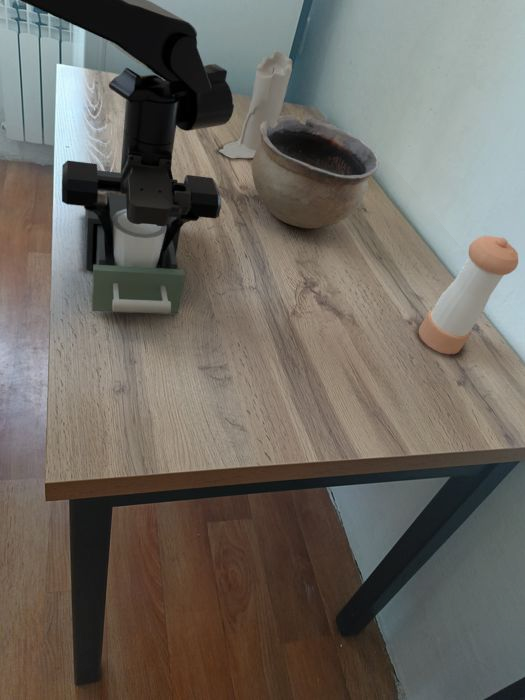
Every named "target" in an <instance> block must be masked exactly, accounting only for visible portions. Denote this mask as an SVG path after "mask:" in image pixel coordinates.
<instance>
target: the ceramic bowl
mask: <svg viewBox="0 0 525 700" xmlns="http://www.w3.org/2000/svg"><path fill="white" fill-rule="evenodd" d="M260 132H261V142H260V143H259V145H258V147H257V150H256V152H255V155H254V158H252V164H251V165H252V166H251V175H252V179H253V183H254V188H255V190H256V192H257V194H258V197H259V199H260V200H261V202H262V204H263V205H264V206H265V208H266V209H267V210H268V211H269V212H270V213H271V214H272V215H273V216H274V217H275V218H276V219H278V220H280V221H281V222H283V223H285V224H288V225H290V226H294V227H297V228H301V229H321V228H325V227H328V226H331V225H335V224H339V223H340V222H342V221H344V220H345V219H347V218H348V217H349V216H351V215H352V214H353V213H355V212H356V211H357V209H358V208H359V207H360V205H361V203H362V201H363V200H364V197H365V195H366V192H367V189H368V185H369V179H370V178H371V177H372V176H373V175H374V174H376V172H377V171H378V170H379V167H380V160H379V158H378V156H377V153H376V152H375V151H373V150H372V148H370V147H368V145H367V144H366V143H365V142H364V141H363V140H362V139H360V138H359V137H357V136H355V135H353V134H351V133H350V132H348V131H346V130H344V129H341V128H338V127H337V126H335V125H334V124H331V123H328V122H324V121H322V120H319V119H316V118H312V117H306V118H305V119H304V122H303V121H302V120H301V119H300V118H299V117H298V116H296V115H294V114H293V115H292V114H287V115H281V114H280V115H279V116H278V119H277V123H276V124H275V126H274V127H271V126H270V124H269V123H268V121H263V123H262V124H261V126H260Z"/></svg>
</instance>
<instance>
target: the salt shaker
mask: <svg viewBox="0 0 525 700" xmlns="http://www.w3.org/2000/svg"><path fill="white" fill-rule="evenodd" d="M518 265H519V253H518V251H517V250H516V249H515V247H513V246H512V245H511V244H510V243H509V242H508V240H507V239H506V238H505V237H503V236H502V237H496V236H493V235H492V236H491V235H481V236H479V237H477V238H475V239H474V240H473V241H472V242H470V244H469V246H468V258H467V260H466V261H465V263H464V265H463V266H462V268H461V269H460V271H459V273H458V274H457V276H456V278H455V279H454V280H453V281H452V282H451V284H449V286H448V287H447V288H446V289H445V291H443V292H442V294H441V295H440V297H439V298H438V300H437V302H436V304H435V305H434V307H433V308H432V309H430V310H429V311H428V312H427V314H426V315H425V317H424V319H423V320H422V322H421V324H420V326H419V328H418V335H419V337H420V339H421V340H422V342H423V343H424V344H425V345H426V346H428V347H429V348H430V349H432V350H434V351H436V352H438V353H440V354H445V355H455V354H458V353H460V351H461V349H462V348H463V346H464V344H465V343H466V342H467V341H468V340H469V338H470V337H471V335H472V329H473V328H474V327H475V325H476V324H477V322H478V321H479V319H480V318H482V315H483V313H484V311H485V308H486V306H487V304H488V301H489V299H490V297H491V295H492V294H493V292H494V291H495V289H496V288H497V286H498V285H499V283H500V282H501V280H502V279H503V277H504V276H506V275H509V274H511V273H512V272H514V271H515V270H516V268H517V267H518Z"/></svg>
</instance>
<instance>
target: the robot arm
mask: <svg viewBox="0 0 525 700" xmlns="http://www.w3.org/2000/svg"><path fill="white" fill-rule="evenodd" d="M19 1H20V2H23V3H25V4H27V5H29V6H32V7H34V8H36V9H38V10H40V11H42V12H44V13H47V14H49V15H51V16H53V17H55V18H58V19H60V20H62V21H65V22H67V23H69V24H71V25H73V26H75V27H78V28H79V29H82V30H84V31H86V32H89V33H91V34H93V35H95V36H97V37H99V38H102V39H104V40H105V41H107V42H108V43H109V44H110V45H112V46H113V47H114V48H116V49H117V50H118V51H120V52H121V53H122V54H123V55H125V56H126V57H128V58H130V59H131V60H133V61H134V62H136V63H137V64H139V65H141V66H142V67H144V68H145V69H147V70H148V71H150V72H152V73H153V74H141V75H140V74H138V73H137V72H135V71H134V70H132V69H130V68H129V67H125V68H124V70H123V71H122V73H120V74H119V75H118V76H115V77H114V78H113V79H112V80H111V81H110V82H109V83H108V87H109V89H110V90H111V91H113V92H114V93H115V94H117V95H119V96H120V97H121V98H123V99H124V100H125V108H124V123H123V133H122V146H121V161H120V172H119V173H120V178H117V177H108V176H99V175H98V173H97V170H98V163H94V162H93V163H92V162H85V161H75V160H66V161H65V162H64V163H63V164H62V167H61V168H62V169H61V202H62V203H64V204H66V205H70V206H80V207H83V208H84V211H85V210H87V211H91V212H94V213H95V214H96V215H97V217H98V218H99V220H100V222H101V225H102V228H103V231H104V234H105V237H106V240H107V243H108V246H109V247H112V244H113V235H112V223H111V212H110V202H109V194H116V195H125V196H126V206H127V219H128V220H129V221H130V222H131V223H133V224H153V225H157V226H166V228H167V229H166V233H165V237H164V241H163V245H162V251H166V249H167V247H168V246H169V244H170V243H171V241H172V239H173V238H174V236H175V235H176V233H177V232H178V230H179V229H180V228H182V227H183V225H185V224H187V223H189V222H196V221H198V220H199V219H200V218H207V219H217V218H219V217H220V213H221V208H222V196H221V194H220V190H219V188H218V185H217V182H216V181H215V180H214V178H213V177H209V176H199V175H192V174H186V175H185V176H184V179H183V182H178V179H174V175H173V171H172V164H173V162H172V161H173V153H174V147H175V139H176V133H177V131H176V130H177V128H178V129H180V130H182V131H185V132H187V131H189V132H190V131H196V130H201V129H207V128H214V127H220V126H223V125H226V124H227V123H228V122H229V121H230V119H232V116H233V113H234V110H235V109H234V108H235V104H234V100H233V99H234V98H233V93H232V90H231V87H230V85H229V84H228V82H227V75H228V71H227V69H225V68H223V67H221V65H220V66H219V65H218V64H216V63H212V64H207V65H204V63H203V60H202V57H201V55H200V52H199V49H198V39H197V37H198V32H197V30H196V28H195V27H194V26H193V25H192V24H191V23H190V22H189V21H186V20H185V19H183V18H181V17H179V16H177V15H175V14H174V13H172V12H170V11H169V10H167V9H165V8H163V7H162V6H160V5H158V4H156V3H154V2H153V1H150V0H19ZM180 230H181V229H180Z"/></svg>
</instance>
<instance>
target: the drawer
mask: <svg viewBox="0 0 525 700" xmlns="http://www.w3.org/2000/svg"><path fill="white" fill-rule="evenodd" d="M112 235H113V225H112ZM185 279H186V272H185V269H179V268H178V261H177V254H176V255H175V250H174V245H173V241H171V243H170V244H169V246H168V247H167V249H166V251H162V248H161V252H160V256H159V260H158V264H157V268H146V267H128V266H114V243H113V244H112V247H109V246H108V243H107V240H106V237H105V234H104V231H103V228H102V225H101V224H97V231H96V265H93V270H92V291H91V311H92V312H95V313H96V312H98V313H99V312H100V313H101V312H102V313H130V314H131V313H133V314H134V313H135V314H136V313H137V314H163V315H164V314H165V315H166V314H168V315H169V314H170V315H179V312H180V307H181V301H182V296H183V290H184V285H185Z"/></svg>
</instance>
